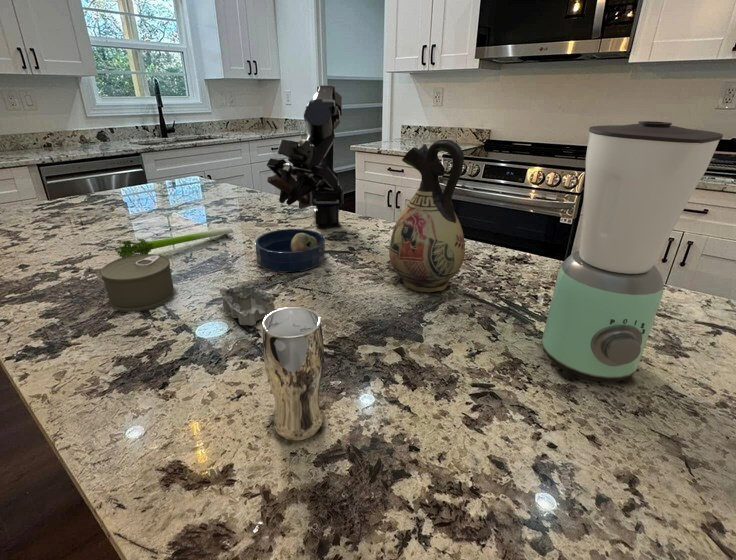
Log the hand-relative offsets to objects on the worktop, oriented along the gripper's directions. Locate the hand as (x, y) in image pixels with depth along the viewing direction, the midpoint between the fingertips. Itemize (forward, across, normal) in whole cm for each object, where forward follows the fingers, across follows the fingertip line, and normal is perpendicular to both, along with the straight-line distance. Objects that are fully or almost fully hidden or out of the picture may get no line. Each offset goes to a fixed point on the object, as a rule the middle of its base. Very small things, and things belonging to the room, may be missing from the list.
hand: (284, 203), depth 96 cm
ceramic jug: (+4, +34, +16) cm, 38 cm away
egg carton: (+26, +14, -7) cm, 30 cm away
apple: (+8, +2, +8) cm, 12 cm away
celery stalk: (+20, -25, 0) cm, 32 cm away
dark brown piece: (-4, 0, +6) cm, 8 cm away
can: (+33, -7, -14) cm, 36 cm away
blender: (+9, +66, +10) cm, 67 cm away
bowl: (+10, +2, +9) cm, 14 cm away
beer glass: (+35, +41, -16) cm, 57 cm away
